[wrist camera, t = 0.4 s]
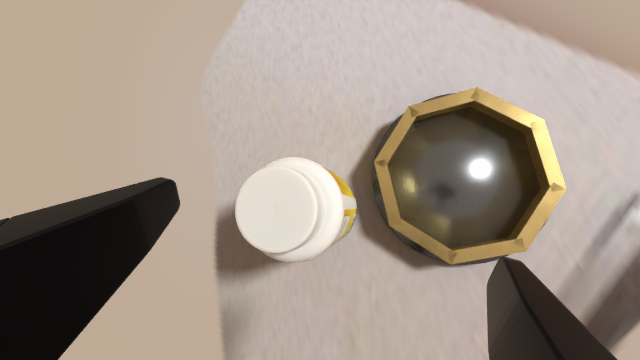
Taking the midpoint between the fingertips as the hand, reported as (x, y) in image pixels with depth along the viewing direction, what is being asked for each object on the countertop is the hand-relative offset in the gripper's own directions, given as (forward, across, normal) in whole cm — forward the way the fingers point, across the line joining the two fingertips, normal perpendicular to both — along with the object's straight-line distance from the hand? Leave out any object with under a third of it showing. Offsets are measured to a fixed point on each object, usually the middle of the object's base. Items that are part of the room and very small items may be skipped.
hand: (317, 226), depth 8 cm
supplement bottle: (+12, +3, +9) cm, 16 cm away
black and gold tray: (+15, -6, +6) cm, 17 cm away
